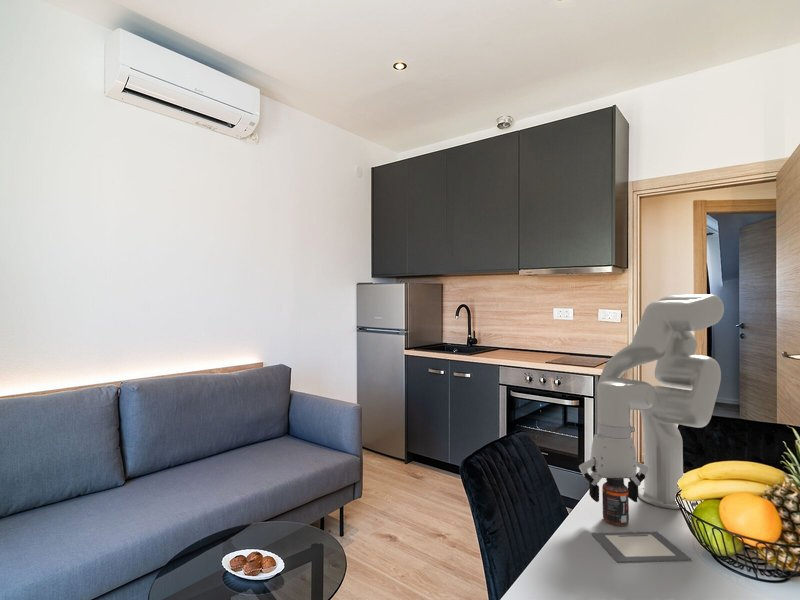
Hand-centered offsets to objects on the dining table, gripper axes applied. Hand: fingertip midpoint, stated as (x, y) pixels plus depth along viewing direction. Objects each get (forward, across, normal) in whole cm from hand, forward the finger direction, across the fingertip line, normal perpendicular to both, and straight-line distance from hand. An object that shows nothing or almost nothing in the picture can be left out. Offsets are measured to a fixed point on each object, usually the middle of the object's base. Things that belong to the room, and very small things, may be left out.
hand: (613, 499), depth 112 cm
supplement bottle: (+6, -1, 0) cm, 6 cm away
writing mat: (+6, 0, +12) cm, 13 cm away
